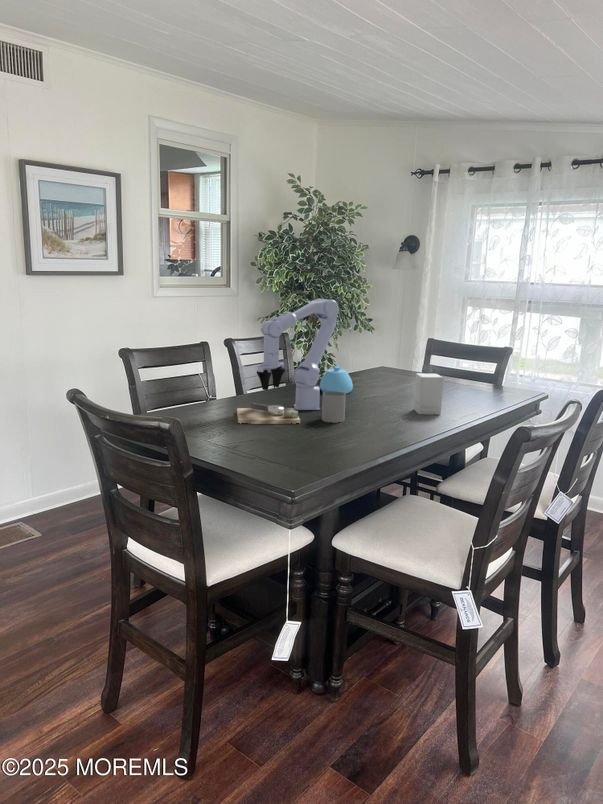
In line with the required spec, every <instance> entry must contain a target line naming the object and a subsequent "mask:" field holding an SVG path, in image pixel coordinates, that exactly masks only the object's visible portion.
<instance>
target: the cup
mask: <svg viewBox="0 0 603 804" xmlns="http://www.w3.org/2000/svg"><path fill="white" fill-rule="evenodd" d="M346 395H347V394H345V393H343V392H337V391H327V392H322V397H321V399H322V402H321V420H322V421H323V422H325V423H330V422H332V424H338V422H340V423H343V422H345V417H346V416H345V415H346V414H345V412H346Z"/></svg>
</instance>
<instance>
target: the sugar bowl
mask: <svg viewBox="0 0 603 804" xmlns="http://www.w3.org/2000/svg"><path fill="white" fill-rule="evenodd" d="M353 388H354V385H353V380H352V378H351V376H350V375H349V373H348V371H347V370H344V369H341V367H340V366H333V369H327V370H326V371H325V373H324V374H323V376H322V377H321V379H320V383H319V389H320V390H321V392H322V393H323V392H327V391H337V392H343V393H345V394H346V395H348V394H350V393H351V392H352V390H353Z"/></svg>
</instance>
